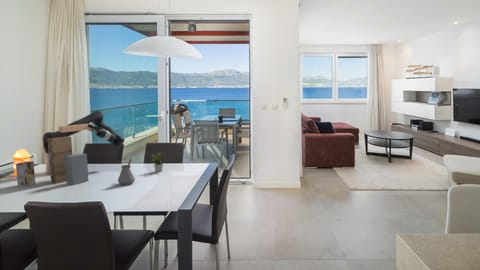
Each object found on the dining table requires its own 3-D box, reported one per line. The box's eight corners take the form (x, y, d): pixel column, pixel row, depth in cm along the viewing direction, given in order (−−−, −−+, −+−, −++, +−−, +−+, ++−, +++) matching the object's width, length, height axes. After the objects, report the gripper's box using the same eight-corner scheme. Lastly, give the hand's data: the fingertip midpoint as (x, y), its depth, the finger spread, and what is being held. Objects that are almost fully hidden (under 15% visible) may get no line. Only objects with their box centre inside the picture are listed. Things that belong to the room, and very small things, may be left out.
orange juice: (31, 173, 276) (29, 148, 274) (23, 176, 267) (21, 150, 265) (22, 173, 277) (20, 148, 275) (14, 175, 269) (11, 150, 266)
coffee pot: (132, 185, 237) (131, 164, 235) (115, 186, 236) (114, 164, 234) (139, 178, 258) (138, 158, 256) (124, 178, 257) (123, 158, 255)
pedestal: (67, 183, 243) (65, 156, 240) (82, 180, 253) (80, 153, 251) (73, 185, 239) (71, 156, 237) (88, 181, 250) (86, 154, 247)
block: (59, 132, 248) (58, 126, 247) (90, 128, 270) (90, 123, 270) (62, 132, 246) (61, 126, 245) (94, 128, 268) (93, 123, 268)
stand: (51, 182, 246) (47, 138, 242) (69, 178, 258) (66, 136, 254) (55, 183, 243) (52, 139, 239) (74, 179, 255) (71, 136, 251)
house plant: (156, 174, 268) (155, 154, 266) (145, 172, 276) (144, 152, 274) (170, 171, 279) (169, 151, 278) (159, 169, 288) (158, 149, 286)
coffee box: (28, 183, 246) (26, 161, 244) (35, 183, 244) (33, 161, 242) (17, 186, 237) (15, 163, 235) (25, 187, 235) (23, 164, 233)
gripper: (99, 129, 283) (82, 120, 269) (111, 130, 276) (94, 120, 262) (96, 137, 281) (78, 129, 267) (107, 138, 273) (90, 129, 260)
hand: (86, 125), depth 265 cm, fingers closed on block, 4 cm apart
